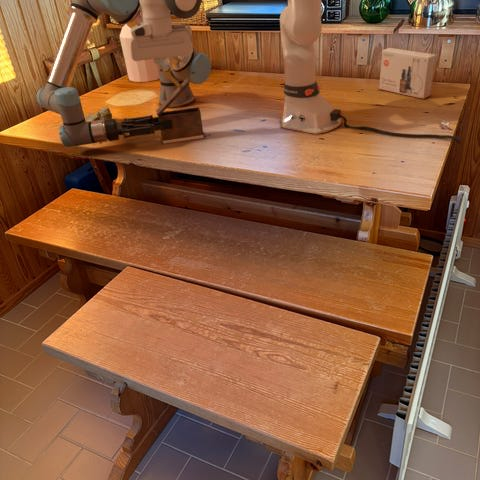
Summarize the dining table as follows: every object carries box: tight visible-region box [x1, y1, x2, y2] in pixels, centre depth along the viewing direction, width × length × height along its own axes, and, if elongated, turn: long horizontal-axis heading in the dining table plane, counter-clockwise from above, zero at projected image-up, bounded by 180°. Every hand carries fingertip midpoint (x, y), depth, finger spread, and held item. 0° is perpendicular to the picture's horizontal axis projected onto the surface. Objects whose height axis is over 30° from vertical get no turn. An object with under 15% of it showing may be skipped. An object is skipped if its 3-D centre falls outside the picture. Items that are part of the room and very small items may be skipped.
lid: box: [156, 69, 190, 117], centre depth 158 cm, size 16×5×8 cm
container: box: [119, 24, 160, 83], centre depth 235 cm, size 21×21×28 cm
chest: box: [157, 106, 205, 144], centre depth 166 cm, size 15×5×10 cm, turn 100°
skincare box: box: [378, 47, 437, 100], centre depth 184 cm, size 21×6×16 cm, turn 40°
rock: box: [85, 105, 113, 122], centre depth 189 cm, size 11×6×10 cm
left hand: (171, 121), depth 164 cm, fingers closed on chest, 5 cm apart
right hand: (165, 71), depth 155 cm, fingers closed
